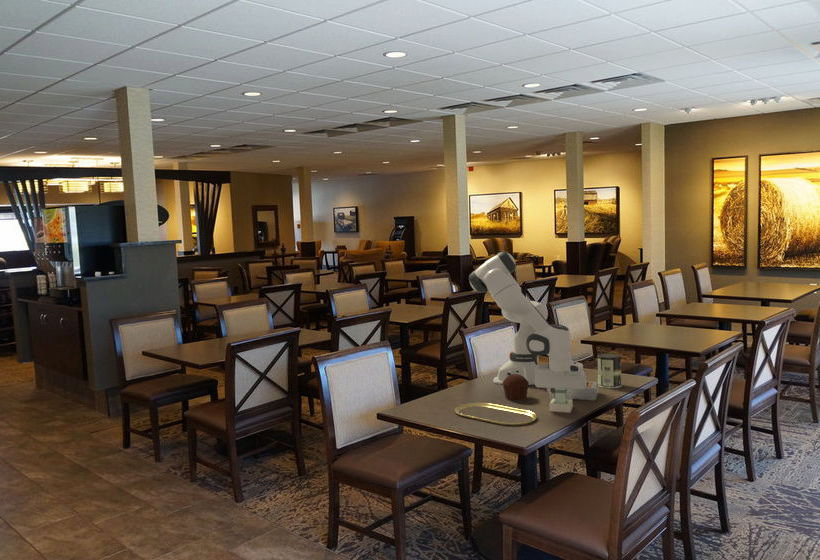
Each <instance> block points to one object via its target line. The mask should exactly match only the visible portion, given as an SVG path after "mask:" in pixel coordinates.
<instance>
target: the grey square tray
mask: <svg viewBox="0 0 820 560" xmlns="http://www.w3.org/2000/svg"><path fill="white" fill-rule="evenodd" d="M572 409H573V399H572V400H568V399H567V404H558V403H555V398H554V399H550V402H549V412H555V413H570V414H571V412H572Z"/></svg>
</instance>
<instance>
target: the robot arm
mask: <svg viewBox="0 0 820 560" xmlns="http://www.w3.org/2000/svg"><path fill="white" fill-rule="evenodd" d="M516 269H517V265H516V260H515V258H514V257H513V256H512V254H510V253H509V252H508V251H501V252H498V253H497V254H495V255H494V256H492V257H490V258H489V259H487V260H486V261H484V263H482V264H481V265H480V266H479V267H477V268H476V269H474V270H473V271H472V272H471V273H470V274H469V275H468V280H469V284H470V286H471V288H472V289H473V290H475V291H476V292H477V293H478V294H479V293H480V294H483V293H486V292H489V294H490V296H491V297H492V299H493V300H494V302H495V304H496V305H497V306H498V308H500V309H501V315H502V317H503V318H505V319H506V320H507V321H510V322H512V323H518V324H519V329H518V331H517V332H516V333H515V334H514V335H513V337H512V338H513V341H512V343H513V344H512V345H513V350H512V351H510V353H509V355H508V357H509V360H508V361H506V362H505V363H504V364H503V365H501V366H500V367H499V369H498V373H497V375H496V376H495V377H493V380H492V381H493V384H495V385H496V384H498V385H503V384H502V383H503V381H504V380H505V378H506V377H508V376H509V375H512V374H519V375H521V376H523V377H525V378H526V380H527V381H528V382H529V383H528V386H532V385H535V387H536V388H542V389H546V391H547V393H548V394H549V399H550V400H552V399H555V393H552V391H551V390H552V389H555V388H564V389H570V392H571V394H570V395H568V396H567V397H568V399H567V400H572V401H573V399H572V394H573V392H574V389H578V390H584V389H585V388H586V387H587V382H586V381H587V377H586V372H585V371H584V365H583V363H582V362H577V361H576V360H572V355H571V349H572V338H571V337H572V336H571V331H570V328H569V327H568V326H566V325H563V324H557V323H554V324H550V322H548V320H547V319H548V316H549V312H548V311H549V310H548V308H547V306H546V305H545V304H544V303H541V302H538V301H536V300H529V299H528V298H527V297H526V296H525V295H524V294H523V292H522V287H521V286H520V284H518V282H517V281H516V279H515V278H514V277H513V275H512V274H513V272H514V271H515V270H516ZM540 356H548V364H540V362H539V361H540V360H539V359H540V358H539V357H540Z"/></svg>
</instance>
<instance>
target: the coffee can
mask: <svg viewBox="0 0 820 560" xmlns="http://www.w3.org/2000/svg"><path fill="white" fill-rule="evenodd" d="M597 382H598V388H603V389H619V388H622V355H621V354H618V353H611V352H607V353H606V352H603V353H599V354H597Z"/></svg>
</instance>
